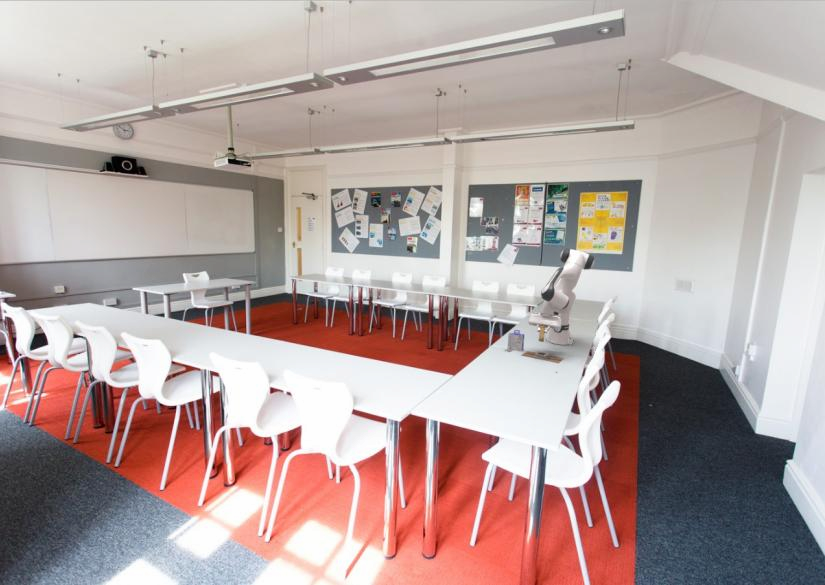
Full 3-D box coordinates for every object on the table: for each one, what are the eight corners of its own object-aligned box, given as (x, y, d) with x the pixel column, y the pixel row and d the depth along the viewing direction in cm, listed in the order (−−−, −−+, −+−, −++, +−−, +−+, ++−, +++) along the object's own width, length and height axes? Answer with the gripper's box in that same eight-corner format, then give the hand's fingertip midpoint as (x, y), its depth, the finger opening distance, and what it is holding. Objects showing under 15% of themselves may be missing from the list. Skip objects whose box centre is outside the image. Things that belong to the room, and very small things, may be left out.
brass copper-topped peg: (539, 340, 256) (541, 324, 254) (544, 341, 254) (546, 325, 252) (538, 341, 254) (539, 325, 252) (542, 342, 252) (544, 326, 250)
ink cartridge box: (523, 351, 273) (525, 330, 270) (521, 353, 268) (523, 332, 266) (509, 349, 277) (510, 328, 275) (507, 351, 272) (508, 330, 270)
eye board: (527, 353, 269) (527, 347, 268) (564, 360, 255) (564, 354, 254) (520, 357, 259) (521, 351, 258) (558, 365, 245) (559, 359, 244)
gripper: (530, 309, 262) (524, 326, 256) (563, 313, 251) (558, 332, 245) (531, 314, 267) (526, 331, 260) (564, 319, 256) (558, 337, 249)
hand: (541, 332), depth 252 cm, fingers closed on brass copper-topped peg, 3 cm apart
